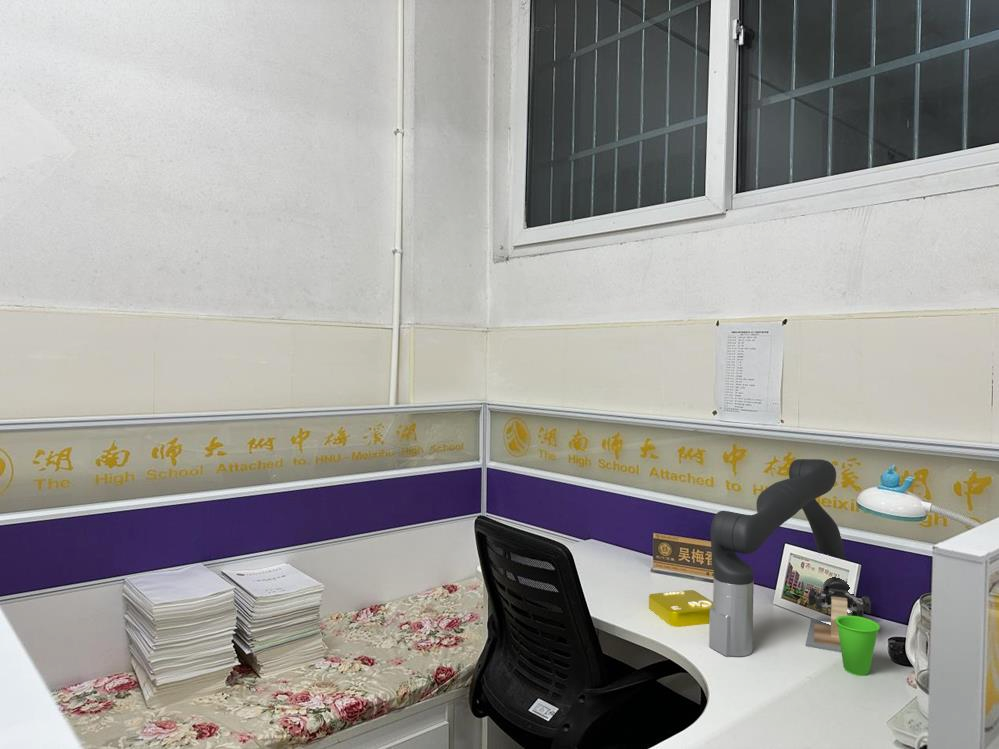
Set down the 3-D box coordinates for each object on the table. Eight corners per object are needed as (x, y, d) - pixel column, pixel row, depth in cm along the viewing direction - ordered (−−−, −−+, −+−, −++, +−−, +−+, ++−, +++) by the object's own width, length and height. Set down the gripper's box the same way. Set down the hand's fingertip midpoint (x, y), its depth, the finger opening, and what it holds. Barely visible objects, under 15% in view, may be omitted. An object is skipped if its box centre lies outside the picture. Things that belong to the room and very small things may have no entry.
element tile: (693, 603, 202) (693, 587, 202) (723, 623, 188) (723, 606, 188) (646, 608, 199) (646, 592, 198) (672, 629, 184) (672, 611, 184)
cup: (884, 681, 155) (886, 632, 154) (840, 677, 156) (841, 628, 156) (871, 663, 163) (872, 617, 163) (829, 660, 165) (830, 613, 165)
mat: (865, 656, 167) (865, 654, 167) (805, 645, 173) (805, 643, 173) (865, 630, 183) (865, 627, 183) (811, 620, 189) (811, 618, 189)
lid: (864, 650, 169) (865, 610, 169) (814, 642, 174) (815, 603, 173) (861, 633, 179) (862, 595, 179) (814, 626, 184) (815, 589, 183)
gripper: (809, 572, 192) (808, 591, 177) (868, 580, 186) (872, 599, 171) (809, 599, 192) (807, 620, 177) (867, 608, 186) (871, 630, 171)
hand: (839, 610), depth 174 cm, fingers open, 8 cm apart
